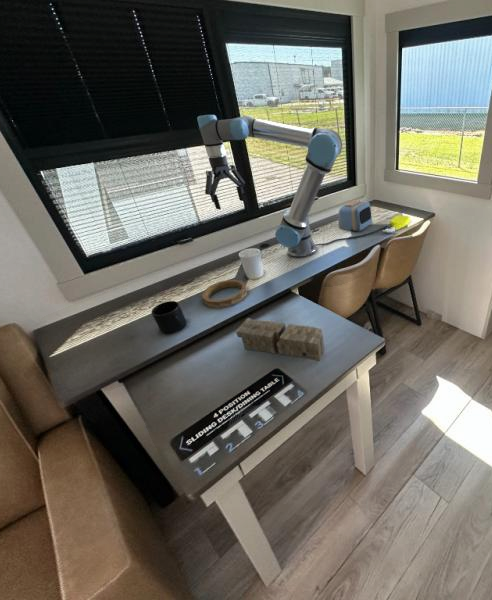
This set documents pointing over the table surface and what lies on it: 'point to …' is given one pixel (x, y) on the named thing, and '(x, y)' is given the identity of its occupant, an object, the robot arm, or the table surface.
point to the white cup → (251, 263)
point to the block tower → (282, 338)
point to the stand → (227, 301)
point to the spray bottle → (398, 223)
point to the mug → (169, 317)
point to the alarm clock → (355, 215)
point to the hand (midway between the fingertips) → (230, 204)
